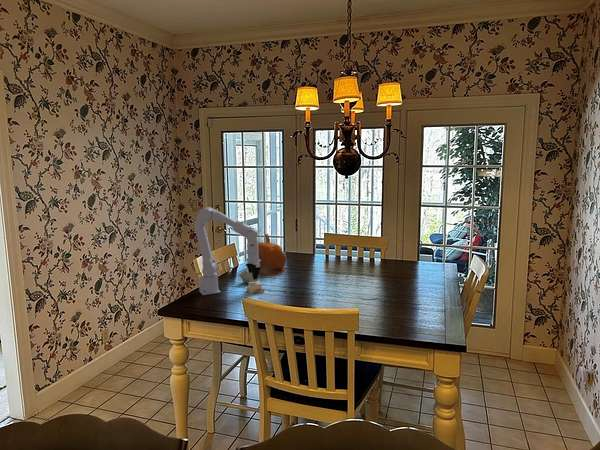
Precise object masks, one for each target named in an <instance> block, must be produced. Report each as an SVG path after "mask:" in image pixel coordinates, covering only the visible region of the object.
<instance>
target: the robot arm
mask: <svg viewBox="0 0 600 450" xmlns="http://www.w3.org/2000/svg"><path fill="white" fill-rule="evenodd" d="M210 220H211V221H220V222H222V223H224V224H225V225H227V226H230V227H231V228H232V231H233V232H235V233H237V234H238V235H240V236H242V237H244V238H245V239H246V241H247V242H246V251H247V253H246V254H247V256H246V257H247V258H246V262H247V263H246V264H245V266H246V267H247V270H248V271H249V273H251V272H252V275H253V279H254V280H255V279H258V280H259V276H260V275H259V271H260V269H261V266H260V263H259V262H260V261H261V260H260V259H259V251H258V242H259V239H258V237H259V231H258V230H257V229H256V228H255V227H252V226H251V225H250V226H249V225H248V224H246V223H244V221H242V220H241V221H240V220H237V221H235V220H234V219H233V218H230V217H229V216H228V215H226V214H224V213H223V212H221V211H219V210H218V209H216V208H213V207H211V206H206V207H204V208H202V209H201V210H199V212H198V213H196V219H195V222H194V225H193V226H194V230H195V234H196V238H197V242H198V245H199V249H200V254H201V259H202V261H201V262H202V268H201V269H202V274H203V275H202V276H199V277H198V286H199V293H200V294H201V295H202V296H207V295H213V294H214V295H215V294H220V293H222V292H221V290H219V274H218V273H217V271H218V269H219V265H218V263H217V262H216V260H215V257H214V256H213V253H212V249H211V245H210V242H209V238H208V233H207V229H206V225H207V224H208V222H209V221H210Z"/></svg>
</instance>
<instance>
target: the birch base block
mask: <svg viewBox="0 0 600 450" xmlns="http://www.w3.org/2000/svg"><path fill="white" fill-rule="evenodd" d="M246 291H247V292H248V293H250V295H255V294H260V293H261V292H262V293H265V288H264V287H263V286H262V289H255V290H251V289H250V288H249V286H247V287H246ZM262 293H261V294H262Z"/></svg>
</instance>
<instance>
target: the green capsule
mask: <svg viewBox="0 0 600 450" xmlns="http://www.w3.org/2000/svg"><path fill="white" fill-rule="evenodd" d="M249 277H250V282H257V281H259V278H258V279H255V280H254V279H253V275H252V272H251V273H249Z"/></svg>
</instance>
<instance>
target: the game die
mask: <svg viewBox="0 0 600 450" xmlns="http://www.w3.org/2000/svg"><path fill="white" fill-rule="evenodd" d="M238 276H239V277H240V279H241V281H242V284H244V283H246V284H247V283H248V284H249V282H250V277H249V271H248V269H246V268H243V271H242V272H241V273H240V274H238Z"/></svg>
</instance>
